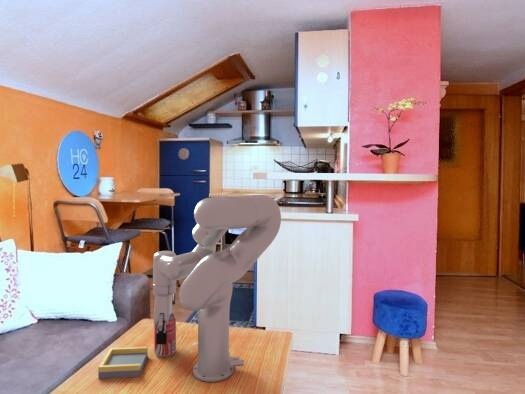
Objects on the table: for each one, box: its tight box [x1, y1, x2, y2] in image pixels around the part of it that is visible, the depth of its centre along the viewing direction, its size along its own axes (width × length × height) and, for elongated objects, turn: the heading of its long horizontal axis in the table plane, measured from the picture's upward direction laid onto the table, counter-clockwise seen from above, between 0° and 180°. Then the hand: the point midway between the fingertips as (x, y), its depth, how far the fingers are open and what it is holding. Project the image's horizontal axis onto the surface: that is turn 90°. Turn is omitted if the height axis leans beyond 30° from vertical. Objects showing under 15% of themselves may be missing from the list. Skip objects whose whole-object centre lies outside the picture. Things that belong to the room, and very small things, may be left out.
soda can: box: [153, 312, 177, 358], centre depth 127 cm, size 7×7×13 cm
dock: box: [97, 346, 149, 380], centre depth 118 cm, size 12×12×4 cm
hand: (163, 337), depth 127 cm, fingers open, 9 cm apart
